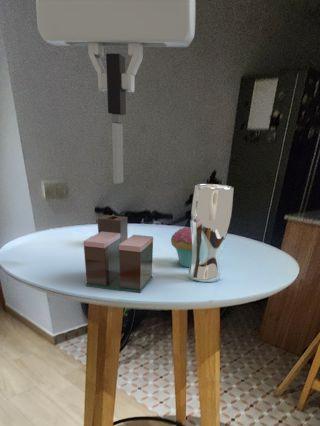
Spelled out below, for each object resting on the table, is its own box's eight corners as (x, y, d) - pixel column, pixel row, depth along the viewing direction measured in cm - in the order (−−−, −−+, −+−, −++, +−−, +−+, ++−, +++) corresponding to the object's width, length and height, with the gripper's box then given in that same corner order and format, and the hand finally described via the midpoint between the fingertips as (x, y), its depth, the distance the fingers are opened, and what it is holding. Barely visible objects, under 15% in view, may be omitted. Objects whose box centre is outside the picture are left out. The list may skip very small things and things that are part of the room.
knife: (109, 183, 55) (105, 52, 47) (116, 181, 58) (113, 57, 49) (121, 184, 55) (118, 53, 46) (127, 182, 58) (126, 57, 49)
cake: (85, 286, 63) (82, 241, 59) (103, 272, 70) (101, 231, 65) (140, 292, 61) (140, 247, 57) (152, 278, 68) (154, 236, 64)
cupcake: (218, 267, 76) (227, 201, 69) (186, 272, 72) (192, 203, 65) (193, 257, 81) (198, 195, 74) (161, 261, 77) (164, 196, 70)
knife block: (98, 247, 85) (97, 218, 82) (106, 242, 89) (105, 214, 86) (120, 249, 84) (120, 220, 81) (127, 244, 89) (127, 216, 85)
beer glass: (197, 269, 74) (206, 182, 65) (228, 277, 71) (242, 187, 62) (178, 277, 69) (185, 184, 60) (210, 285, 66) (223, 189, 57)
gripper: (16, -78, 41) (35, 86, 49) (195, -86, 38) (184, 91, 46) (43, -54, 46) (56, 91, 54) (203, -59, 43) (192, 96, 51)
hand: (116, 91), depth 50 cm, fingers closed on knife, 2 cm apart
